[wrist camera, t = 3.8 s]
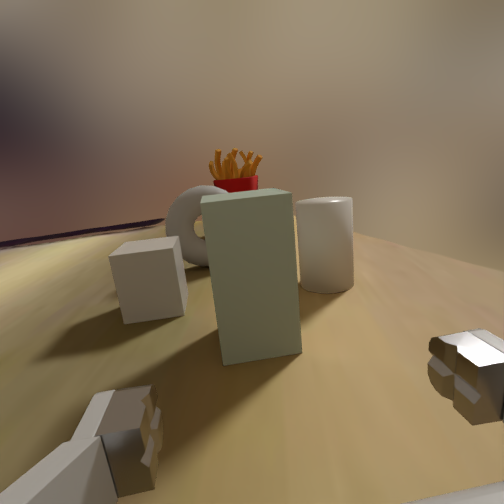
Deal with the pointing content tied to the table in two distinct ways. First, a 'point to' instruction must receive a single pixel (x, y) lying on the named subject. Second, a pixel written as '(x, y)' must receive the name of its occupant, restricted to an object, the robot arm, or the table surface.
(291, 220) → the sage block
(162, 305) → the grey cube
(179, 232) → the donut
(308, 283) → the white canister
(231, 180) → the french fries
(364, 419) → the table surface
